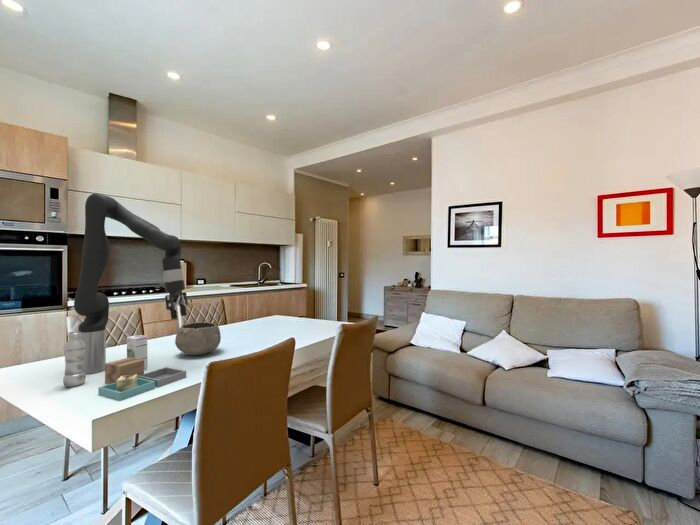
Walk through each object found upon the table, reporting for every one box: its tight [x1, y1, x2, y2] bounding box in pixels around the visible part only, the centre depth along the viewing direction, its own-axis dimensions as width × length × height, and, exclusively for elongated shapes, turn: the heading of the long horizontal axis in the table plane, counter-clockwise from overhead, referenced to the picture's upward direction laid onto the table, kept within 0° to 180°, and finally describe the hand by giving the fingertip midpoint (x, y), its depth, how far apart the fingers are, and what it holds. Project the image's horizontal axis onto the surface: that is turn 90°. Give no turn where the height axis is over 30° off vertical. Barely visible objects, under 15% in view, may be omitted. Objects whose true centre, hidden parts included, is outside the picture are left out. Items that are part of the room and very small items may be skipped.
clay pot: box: [174, 322, 222, 356], centre depth 167 cm, size 21×21×15 cm
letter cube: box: [117, 374, 138, 392], centre depth 116 cm, size 5×5×5 cm
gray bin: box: [138, 366, 187, 388], centre depth 127 cm, size 12×12×3 cm
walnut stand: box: [104, 357, 145, 385], centre depth 126 cm, size 9×9×8 cm
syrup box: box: [126, 334, 149, 370], centre depth 142 cm, size 6×6×14 cm
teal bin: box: [97, 378, 156, 402], centre depth 116 cm, size 12×12×3 cm
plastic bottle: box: [62, 331, 86, 388], centre depth 123 cm, size 6×7×20 cm
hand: (179, 317), depth 143 cm, fingers open, 8 cm apart
